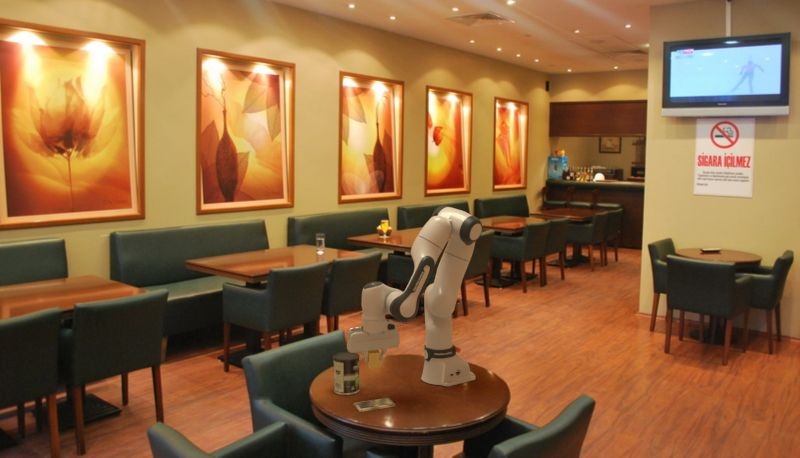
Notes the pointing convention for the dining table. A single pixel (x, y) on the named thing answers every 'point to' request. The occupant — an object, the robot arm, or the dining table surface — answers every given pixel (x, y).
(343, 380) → the coffee can
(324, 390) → the dining table surface
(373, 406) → the banknote
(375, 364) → the yellow rectangular block
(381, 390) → the dining table surface
